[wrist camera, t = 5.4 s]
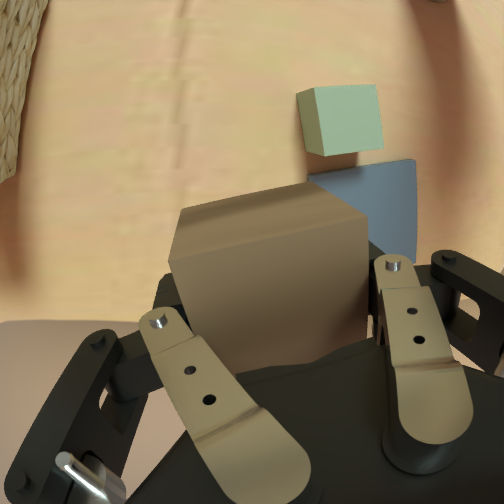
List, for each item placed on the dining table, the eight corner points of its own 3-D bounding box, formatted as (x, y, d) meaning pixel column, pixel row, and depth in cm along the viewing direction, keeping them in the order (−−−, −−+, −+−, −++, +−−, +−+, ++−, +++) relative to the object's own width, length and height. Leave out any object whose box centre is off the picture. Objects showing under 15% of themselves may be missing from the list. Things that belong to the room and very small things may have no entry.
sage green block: (295, 93, 25) (313, 87, 20) (349, 89, 25) (375, 84, 21) (305, 151, 27) (324, 156, 23) (357, 143, 28) (384, 148, 23)
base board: (307, 175, 28) (310, 176, 27) (410, 159, 29) (415, 160, 28) (320, 285, 33) (323, 289, 32) (411, 259, 34) (415, 262, 33)
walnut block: (181, 208, 12) (167, 260, 8) (311, 181, 13) (367, 216, 8) (212, 317, 15) (218, 396, 10) (322, 291, 15) (365, 358, 10)
